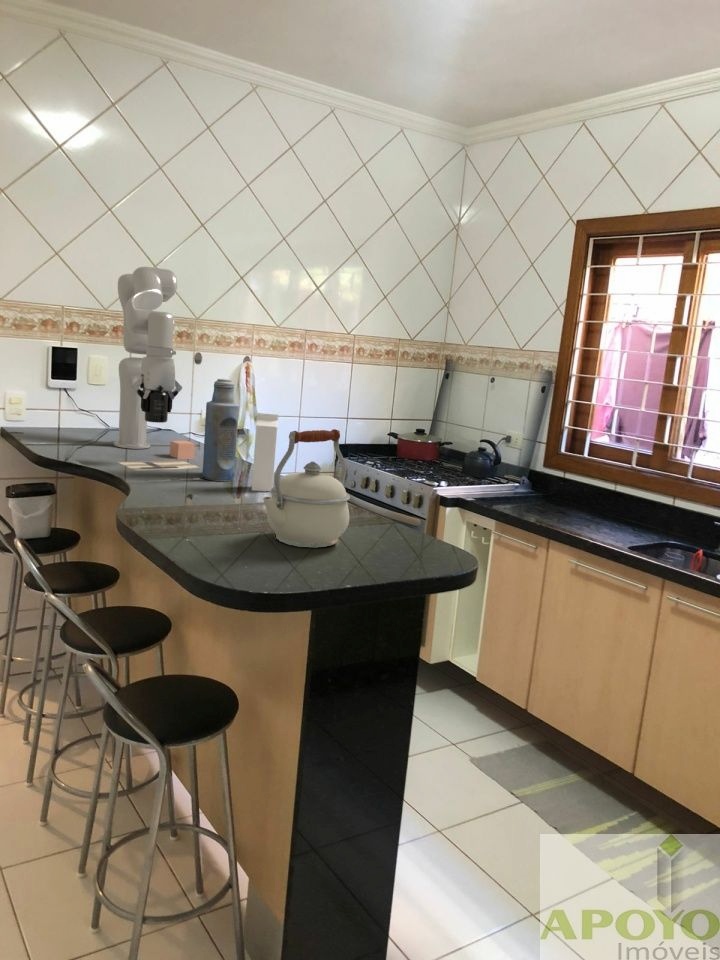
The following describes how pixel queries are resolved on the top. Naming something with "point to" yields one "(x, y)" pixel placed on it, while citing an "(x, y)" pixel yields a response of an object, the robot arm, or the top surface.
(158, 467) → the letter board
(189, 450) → the terracotta block
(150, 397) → the supplement bottle
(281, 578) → the top surface
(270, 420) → the milk
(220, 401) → the bottle
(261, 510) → the top surface
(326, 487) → the kettle
